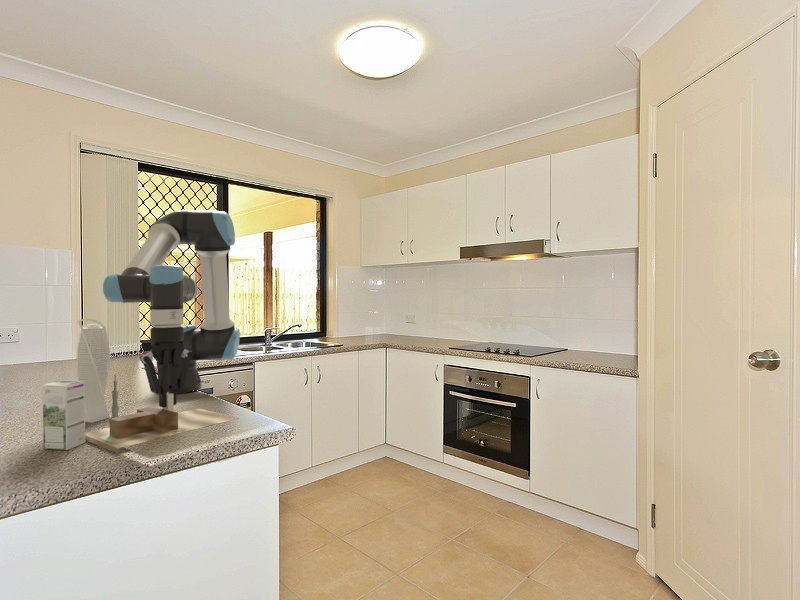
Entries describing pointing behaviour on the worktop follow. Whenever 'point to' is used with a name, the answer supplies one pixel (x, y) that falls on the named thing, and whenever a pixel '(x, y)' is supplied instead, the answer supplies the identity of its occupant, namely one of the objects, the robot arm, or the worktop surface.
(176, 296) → the robot arm
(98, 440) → the board
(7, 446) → the worktop surface
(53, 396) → the syrup box
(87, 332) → the skyscraper
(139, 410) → the t block
